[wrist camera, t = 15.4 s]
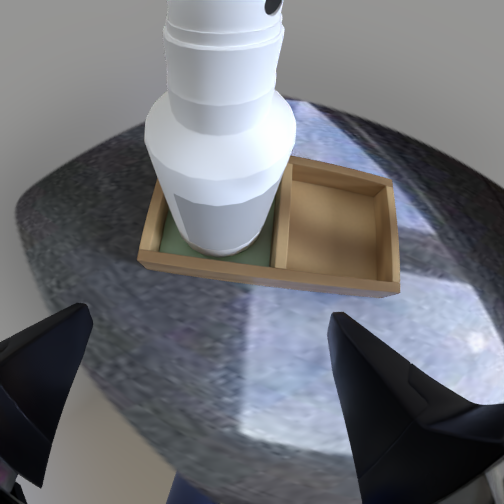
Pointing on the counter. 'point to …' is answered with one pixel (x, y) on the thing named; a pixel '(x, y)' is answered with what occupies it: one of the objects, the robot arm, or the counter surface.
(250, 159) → the spray bottle
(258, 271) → the holder
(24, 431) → the robot arm
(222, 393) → the counter surface
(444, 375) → the counter surface
